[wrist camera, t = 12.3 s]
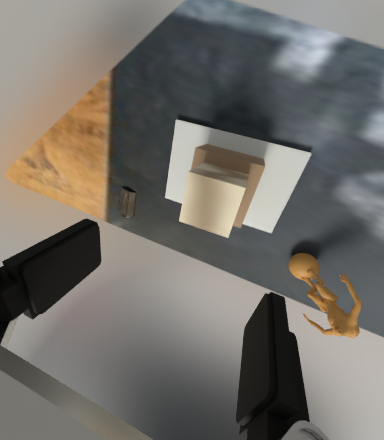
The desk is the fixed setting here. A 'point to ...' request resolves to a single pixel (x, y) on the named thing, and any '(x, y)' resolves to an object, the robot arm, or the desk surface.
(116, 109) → the desk surface
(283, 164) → the build board
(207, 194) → the maple block
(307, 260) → the figurine
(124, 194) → the block
